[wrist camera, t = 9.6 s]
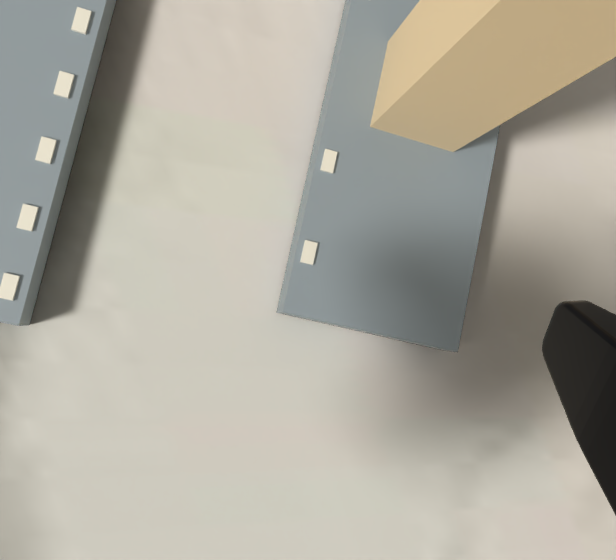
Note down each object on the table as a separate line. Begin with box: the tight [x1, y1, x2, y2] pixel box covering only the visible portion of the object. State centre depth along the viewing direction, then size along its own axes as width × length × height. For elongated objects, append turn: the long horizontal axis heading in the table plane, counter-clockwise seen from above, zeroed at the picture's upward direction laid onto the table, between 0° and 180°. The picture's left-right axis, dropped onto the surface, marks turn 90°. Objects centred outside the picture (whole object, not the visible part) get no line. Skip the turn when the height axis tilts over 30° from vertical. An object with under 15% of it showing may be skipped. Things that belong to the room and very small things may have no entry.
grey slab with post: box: [276, 0, 616, 352], centre depth 13 cm, size 16×6×14 cm, turn 167°
